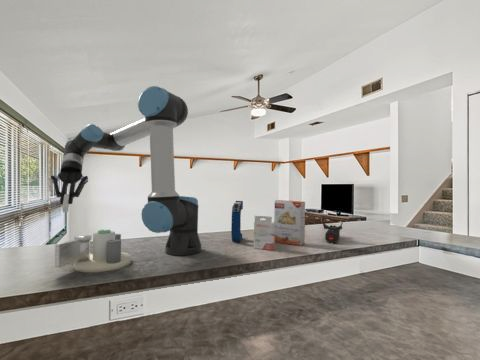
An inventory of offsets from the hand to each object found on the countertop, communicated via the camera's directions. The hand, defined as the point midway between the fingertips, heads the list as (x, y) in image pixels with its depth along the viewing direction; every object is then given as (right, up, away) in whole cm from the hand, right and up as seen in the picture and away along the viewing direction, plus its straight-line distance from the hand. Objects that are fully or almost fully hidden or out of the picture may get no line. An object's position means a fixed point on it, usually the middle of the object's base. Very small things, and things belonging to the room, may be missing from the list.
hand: (65, 209), depth 99 cm
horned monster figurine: (+113, -21, +45) cm, 123 cm away
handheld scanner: (+62, -20, +40) cm, 76 cm away
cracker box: (+88, -20, +35) cm, 97 cm away
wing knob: (+9, -17, -9) cm, 21 cm away
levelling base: (+15, -19, -3) cm, 24 cm away
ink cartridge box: (+74, -20, +24) cm, 81 cm away
